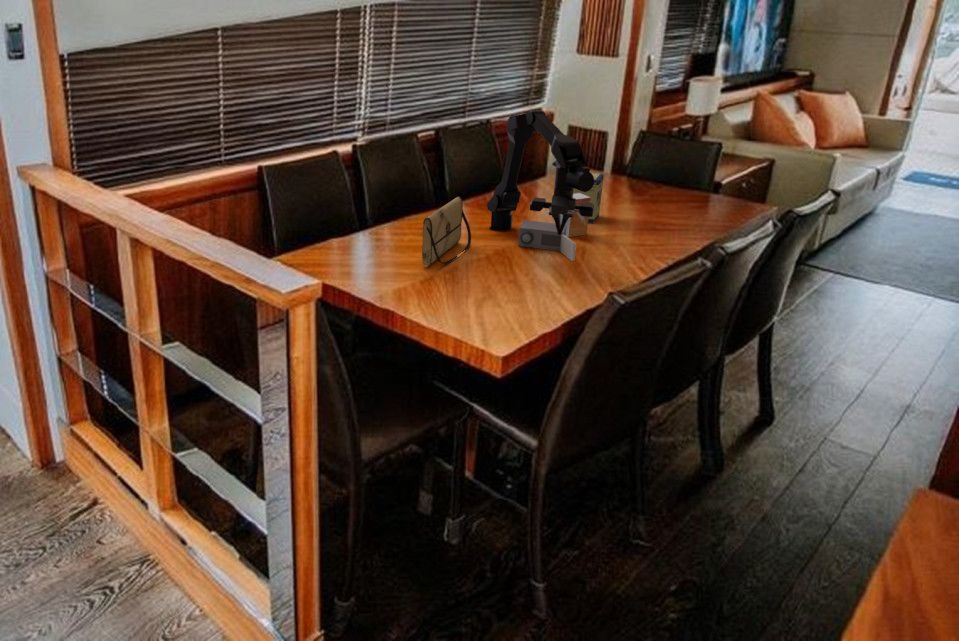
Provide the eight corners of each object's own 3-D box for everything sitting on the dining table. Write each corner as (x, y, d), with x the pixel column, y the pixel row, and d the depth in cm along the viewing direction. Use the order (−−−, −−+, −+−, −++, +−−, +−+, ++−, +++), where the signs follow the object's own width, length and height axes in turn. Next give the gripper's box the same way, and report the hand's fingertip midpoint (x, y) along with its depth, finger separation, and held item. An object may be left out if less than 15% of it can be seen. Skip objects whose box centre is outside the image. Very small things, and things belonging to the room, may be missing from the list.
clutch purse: (442, 272, 226) (443, 221, 220) (419, 268, 228) (420, 218, 222) (475, 243, 252) (477, 197, 246) (454, 240, 254) (456, 194, 248)
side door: (574, 260, 241) (576, 243, 238) (571, 261, 240) (573, 243, 238) (562, 250, 249) (564, 234, 247) (559, 251, 249) (561, 234, 246)
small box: (568, 238, 262) (572, 199, 256) (556, 232, 266) (560, 194, 261) (587, 234, 266) (591, 197, 261) (575, 229, 271) (579, 192, 265)
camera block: (517, 247, 250) (518, 227, 247) (522, 237, 259) (524, 218, 257) (561, 252, 247) (563, 232, 245) (565, 242, 257) (567, 222, 254)
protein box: (594, 223, 278) (599, 180, 272) (551, 217, 283) (555, 174, 277) (599, 216, 288) (604, 174, 281) (558, 210, 292) (562, 168, 286)
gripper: (528, 186, 227) (524, 238, 233) (593, 193, 224) (587, 246, 230) (534, 178, 237) (530, 228, 243) (597, 184, 234) (591, 235, 240)
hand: (559, 234), depth 239 cm, fingers closed
